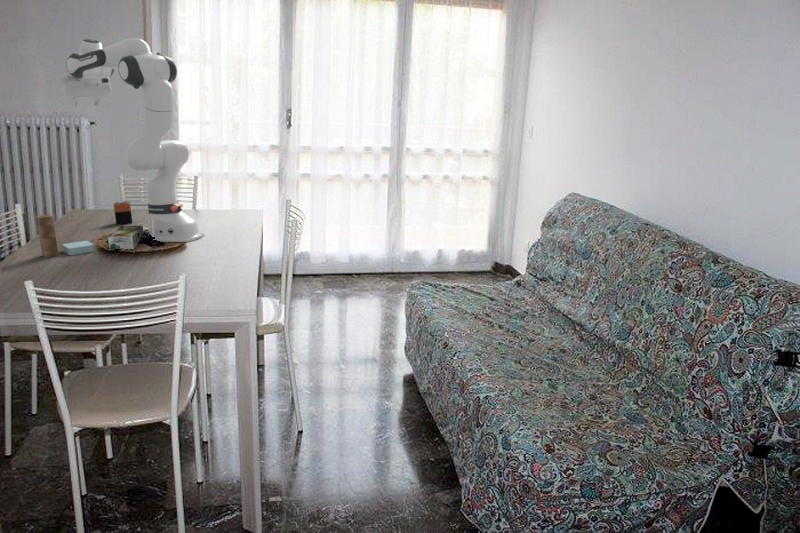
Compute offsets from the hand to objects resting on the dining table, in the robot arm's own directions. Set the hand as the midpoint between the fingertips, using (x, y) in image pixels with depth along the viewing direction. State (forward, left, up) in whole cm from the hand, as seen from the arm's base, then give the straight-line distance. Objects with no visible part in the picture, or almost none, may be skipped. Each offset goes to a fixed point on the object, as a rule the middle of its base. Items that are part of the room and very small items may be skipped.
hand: (85, 105), depth 305 cm
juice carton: (-42, +39, -52) cm, 78 cm away
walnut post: (-24, +60, -51) cm, 83 cm away
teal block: (-30, +52, -52) cm, 80 cm away
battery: (-16, +5, -52) cm, 55 cm away
